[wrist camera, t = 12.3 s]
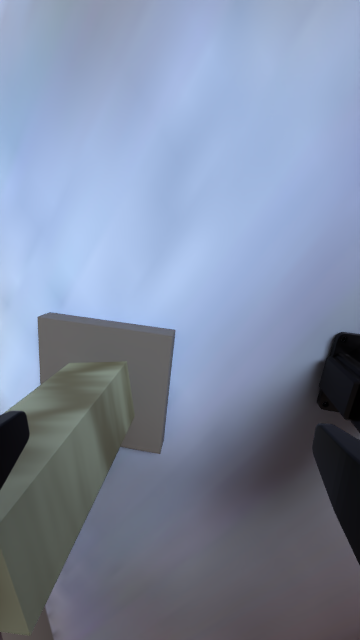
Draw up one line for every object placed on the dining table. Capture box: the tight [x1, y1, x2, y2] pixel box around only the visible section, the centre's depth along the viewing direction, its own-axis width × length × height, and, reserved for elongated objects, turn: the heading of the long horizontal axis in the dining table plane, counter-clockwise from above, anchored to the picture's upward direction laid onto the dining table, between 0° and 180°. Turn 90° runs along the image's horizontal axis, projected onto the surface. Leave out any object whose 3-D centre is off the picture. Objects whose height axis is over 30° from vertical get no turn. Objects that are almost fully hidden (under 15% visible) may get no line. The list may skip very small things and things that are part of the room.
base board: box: [38, 313, 175, 454], centre depth 22 cm, size 11×11×2 cm
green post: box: [0, 361, 135, 636], centre depth 15 cm, size 5×5×13 cm
